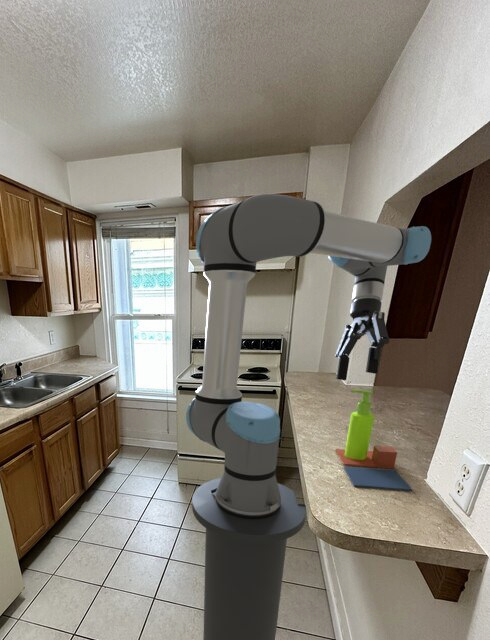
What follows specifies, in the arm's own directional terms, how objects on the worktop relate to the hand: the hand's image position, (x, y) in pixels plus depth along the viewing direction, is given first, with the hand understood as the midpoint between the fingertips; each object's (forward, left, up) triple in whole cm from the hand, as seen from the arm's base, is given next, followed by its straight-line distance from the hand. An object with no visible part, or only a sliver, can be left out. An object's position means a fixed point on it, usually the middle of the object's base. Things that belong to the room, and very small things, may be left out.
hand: (355, 376), depth 100 cm
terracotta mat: (+5, -2, -24) cm, 25 cm away
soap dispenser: (+3, -1, -24) cm, 24 cm away
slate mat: (+5, -15, -24) cm, 29 cm away
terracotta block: (+9, -6, -24) cm, 26 cm away
